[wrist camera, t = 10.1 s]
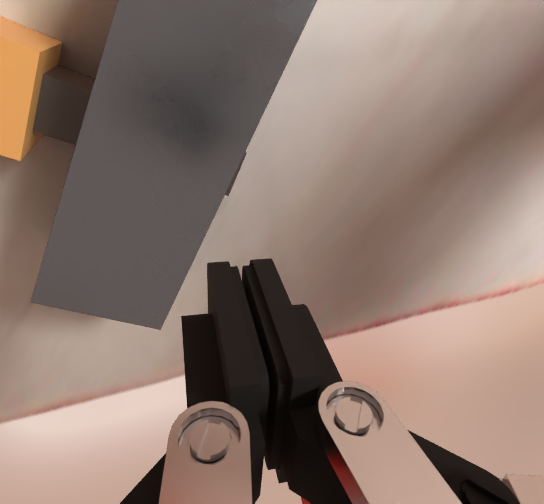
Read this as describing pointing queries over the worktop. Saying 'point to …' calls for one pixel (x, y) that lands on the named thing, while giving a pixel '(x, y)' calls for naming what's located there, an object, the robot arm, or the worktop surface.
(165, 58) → the housing
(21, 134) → the plug
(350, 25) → the worktop surface
